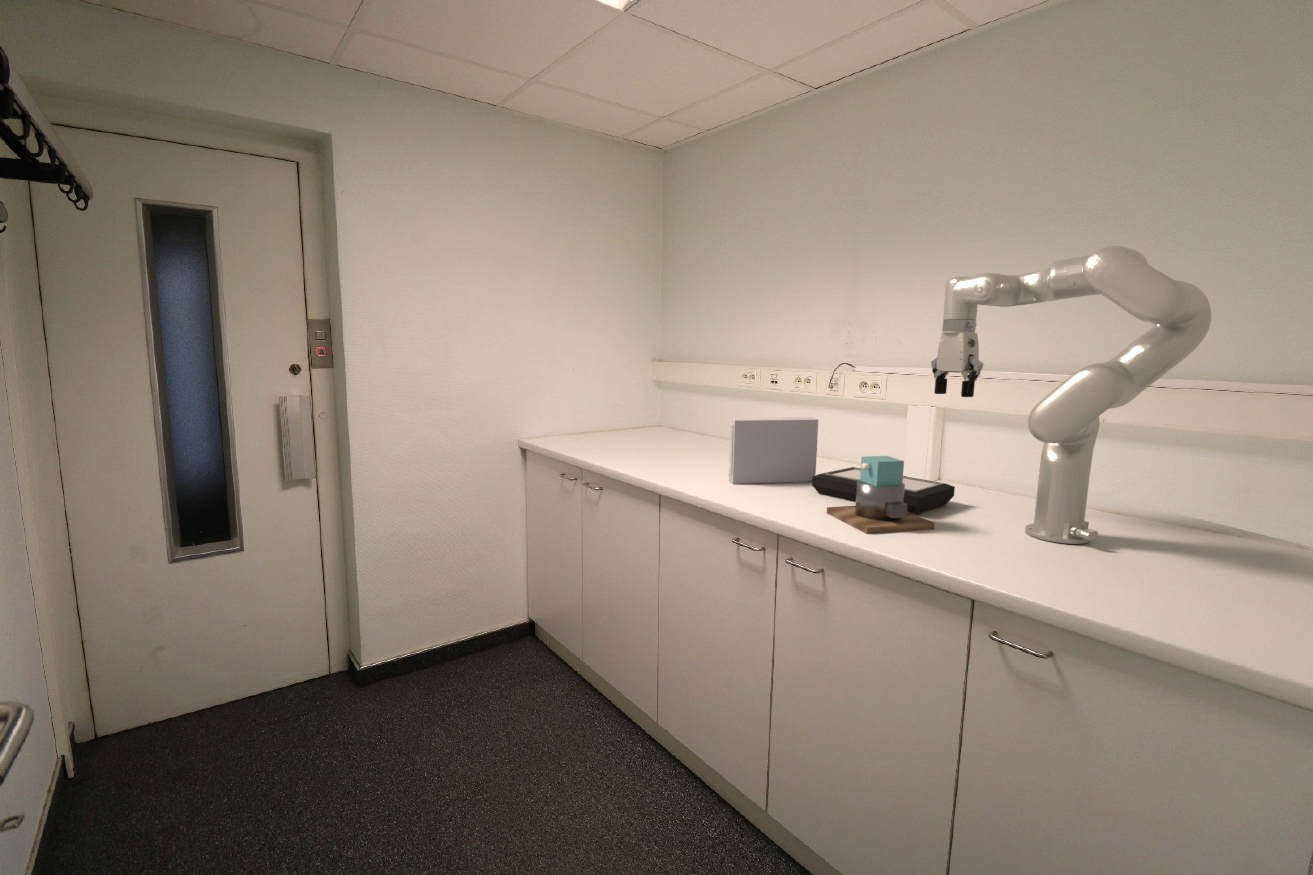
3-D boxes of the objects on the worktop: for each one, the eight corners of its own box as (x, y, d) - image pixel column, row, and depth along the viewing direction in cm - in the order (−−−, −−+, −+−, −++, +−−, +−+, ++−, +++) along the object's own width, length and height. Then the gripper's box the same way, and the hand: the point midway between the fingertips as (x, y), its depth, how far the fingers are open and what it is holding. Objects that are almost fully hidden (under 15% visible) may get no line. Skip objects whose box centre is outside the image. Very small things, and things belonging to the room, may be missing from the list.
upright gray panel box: (727, 480, 196) (728, 418, 193) (807, 478, 200) (810, 417, 198) (732, 484, 190) (734, 420, 187) (815, 481, 195) (818, 419, 192)
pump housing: (902, 485, 148) (904, 460, 147) (870, 487, 146) (872, 462, 145) (884, 479, 155) (886, 455, 154) (854, 480, 153) (855, 456, 152)
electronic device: (812, 473, 178) (851, 465, 191) (811, 494, 179) (850, 485, 192) (918, 494, 154) (955, 483, 167) (916, 518, 155) (953, 506, 168)
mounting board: (934, 528, 145) (934, 522, 145) (866, 533, 141) (867, 527, 141) (888, 509, 163) (888, 503, 162) (826, 512, 158) (826, 507, 158)
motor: (919, 522, 145) (922, 478, 144) (878, 525, 143) (880, 480, 141) (884, 507, 158) (887, 467, 157) (846, 510, 156) (848, 469, 154)
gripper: (998, 327, 148) (991, 398, 150) (947, 328, 164) (942, 392, 167) (971, 326, 146) (965, 398, 149) (923, 328, 163) (918, 392, 165)
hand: (953, 395), depth 158 cm, fingers open, 9 cm apart
